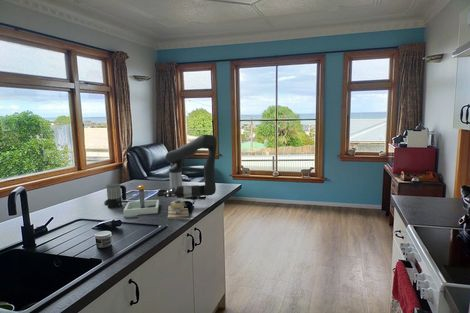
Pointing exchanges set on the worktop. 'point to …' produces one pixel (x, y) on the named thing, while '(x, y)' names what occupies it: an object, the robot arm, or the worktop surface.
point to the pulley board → (182, 213)
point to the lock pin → (141, 195)
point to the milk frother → (115, 195)
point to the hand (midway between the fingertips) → (157, 193)
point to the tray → (134, 208)
